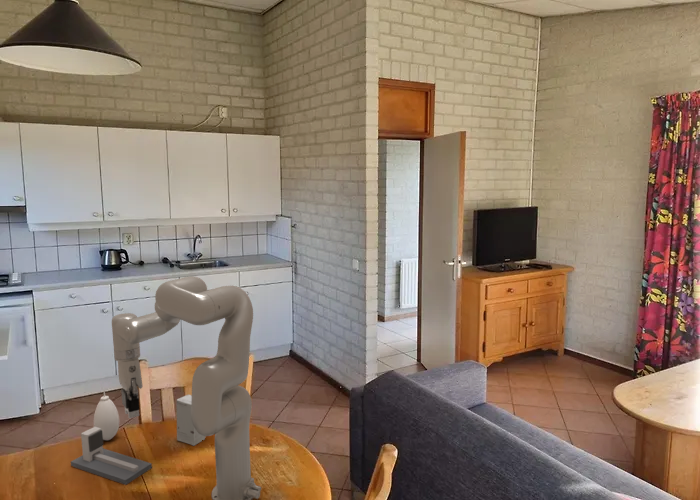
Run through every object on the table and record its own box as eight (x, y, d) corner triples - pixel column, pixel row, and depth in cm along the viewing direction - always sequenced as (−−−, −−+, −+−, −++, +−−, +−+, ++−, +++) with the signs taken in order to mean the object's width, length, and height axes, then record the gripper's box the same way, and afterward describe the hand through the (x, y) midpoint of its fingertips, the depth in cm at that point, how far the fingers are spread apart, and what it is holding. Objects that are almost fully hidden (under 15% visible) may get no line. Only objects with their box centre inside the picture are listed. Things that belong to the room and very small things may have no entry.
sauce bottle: (111, 445, 178) (107, 395, 175) (90, 443, 179) (86, 393, 177) (124, 434, 186) (121, 385, 183) (104, 432, 187) (100, 384, 184)
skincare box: (176, 440, 181) (174, 399, 179) (189, 433, 186) (187, 393, 184) (195, 446, 177) (192, 404, 175) (207, 438, 182) (205, 397, 180)
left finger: (134, 410, 171) (132, 384, 170) (139, 415, 167) (137, 389, 166) (123, 413, 169) (120, 387, 168) (127, 419, 165) (125, 392, 164)
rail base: (151, 467, 164) (149, 436, 163) (125, 484, 155) (123, 452, 154) (98, 451, 174) (96, 421, 173) (71, 466, 165) (68, 435, 164)
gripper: (147, 357, 161) (151, 413, 164) (132, 344, 175) (136, 396, 177) (121, 362, 157) (126, 420, 159) (108, 348, 170) (112, 402, 173)
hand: (131, 407), depth 168 cm, fingers open, 5 cm apart
